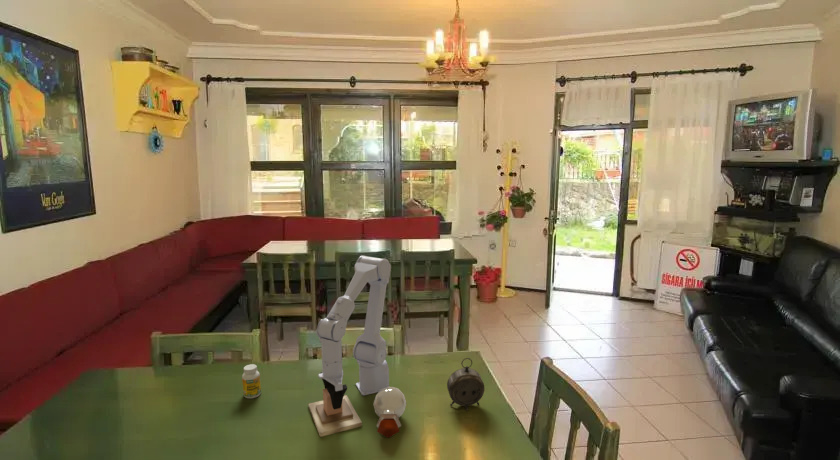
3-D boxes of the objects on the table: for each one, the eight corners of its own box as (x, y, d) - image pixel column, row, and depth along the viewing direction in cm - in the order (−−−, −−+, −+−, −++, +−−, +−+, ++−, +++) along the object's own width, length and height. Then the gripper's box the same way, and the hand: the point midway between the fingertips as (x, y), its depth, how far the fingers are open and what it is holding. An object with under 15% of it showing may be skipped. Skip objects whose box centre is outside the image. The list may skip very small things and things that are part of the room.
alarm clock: (481, 401, 146) (482, 353, 143) (485, 411, 141) (486, 361, 138) (446, 403, 145) (447, 354, 142) (449, 413, 140) (450, 363, 137)
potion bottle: (394, 411, 143) (393, 447, 129) (368, 395, 141) (364, 431, 127) (412, 390, 141) (412, 424, 127) (385, 374, 139) (383, 407, 125)
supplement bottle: (258, 388, 154) (256, 361, 152) (263, 395, 149) (261, 368, 147) (241, 393, 151) (239, 365, 149) (245, 400, 146) (243, 372, 145)
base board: (346, 398, 148) (346, 392, 147) (361, 426, 133) (361, 419, 133) (308, 407, 143) (308, 400, 142) (320, 436, 128) (319, 429, 128)
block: (338, 404, 140) (337, 386, 139) (342, 412, 136) (341, 393, 135) (323, 407, 139) (322, 389, 137) (327, 415, 135) (326, 396, 133)
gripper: (312, 351, 139) (314, 392, 142) (324, 372, 126) (326, 417, 129) (336, 346, 142) (337, 387, 145) (349, 367, 129) (350, 411, 132)
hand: (333, 401), depth 137 cm, fingers open, 7 cm apart
